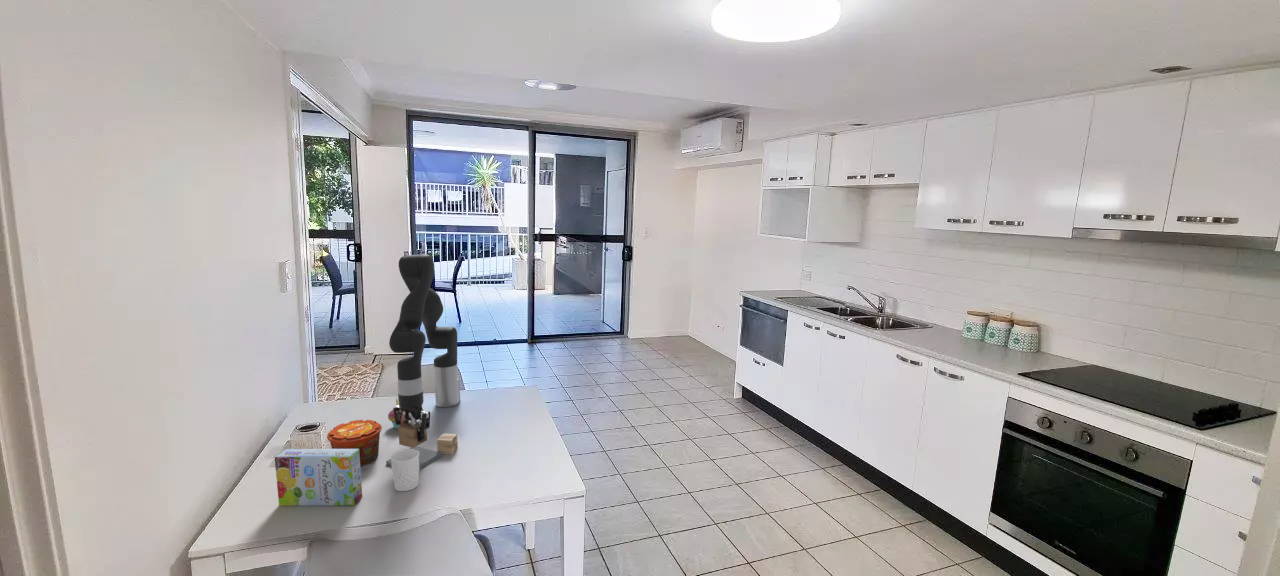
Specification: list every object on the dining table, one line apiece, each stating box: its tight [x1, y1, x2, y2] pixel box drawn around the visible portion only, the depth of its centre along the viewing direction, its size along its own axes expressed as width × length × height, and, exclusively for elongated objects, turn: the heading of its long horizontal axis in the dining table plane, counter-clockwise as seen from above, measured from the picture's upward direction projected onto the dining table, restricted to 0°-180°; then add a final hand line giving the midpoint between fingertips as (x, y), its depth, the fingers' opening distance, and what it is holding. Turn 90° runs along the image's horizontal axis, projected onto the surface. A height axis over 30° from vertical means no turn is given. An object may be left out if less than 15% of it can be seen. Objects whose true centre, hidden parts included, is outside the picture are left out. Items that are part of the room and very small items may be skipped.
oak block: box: [436, 433, 458, 455], centre depth 184 cm, size 5×5×5 cm
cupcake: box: [387, 397, 400, 430], centre depth 202 cm, size 9×8×12 cm
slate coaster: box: [385, 446, 443, 470], centre depth 177 cm, size 12×12×1 cm
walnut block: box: [397, 420, 428, 448], centre depth 176 cm, size 6×6×6 cm
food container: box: [326, 419, 383, 467], centre depth 177 cm, size 16×16×11 cm
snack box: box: [274, 448, 363, 507], centre depth 152 cm, size 21×6×15 cm, turn 92°
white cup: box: [390, 448, 420, 492], centre depth 161 cm, size 8×8×10 cm
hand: (413, 438), depth 176 cm, fingers closed on walnut block, 6 cm apart
